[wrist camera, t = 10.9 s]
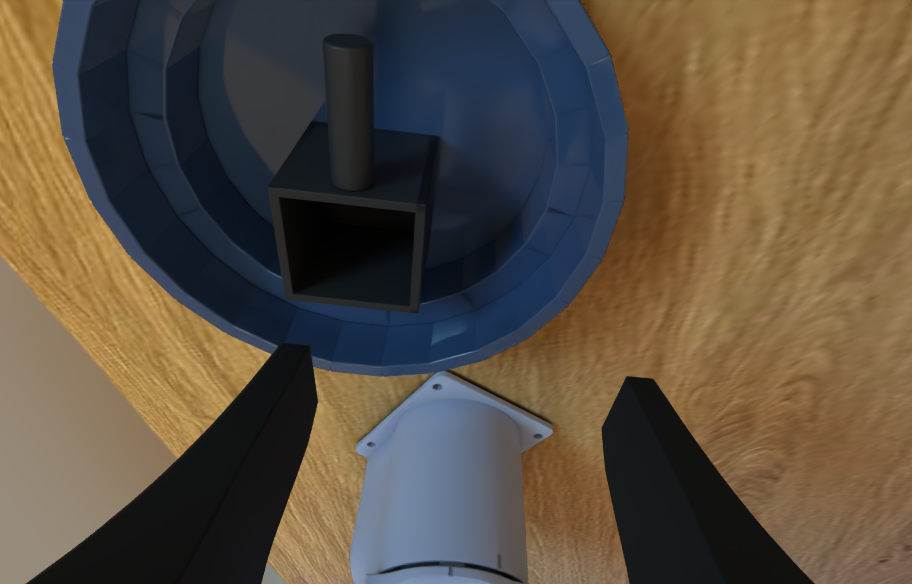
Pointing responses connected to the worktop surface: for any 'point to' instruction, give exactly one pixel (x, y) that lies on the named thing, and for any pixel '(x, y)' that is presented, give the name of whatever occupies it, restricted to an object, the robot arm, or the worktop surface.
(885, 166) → the worktop surface
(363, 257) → the scoop
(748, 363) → the worktop surface
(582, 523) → the worktop surface
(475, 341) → the bowl
